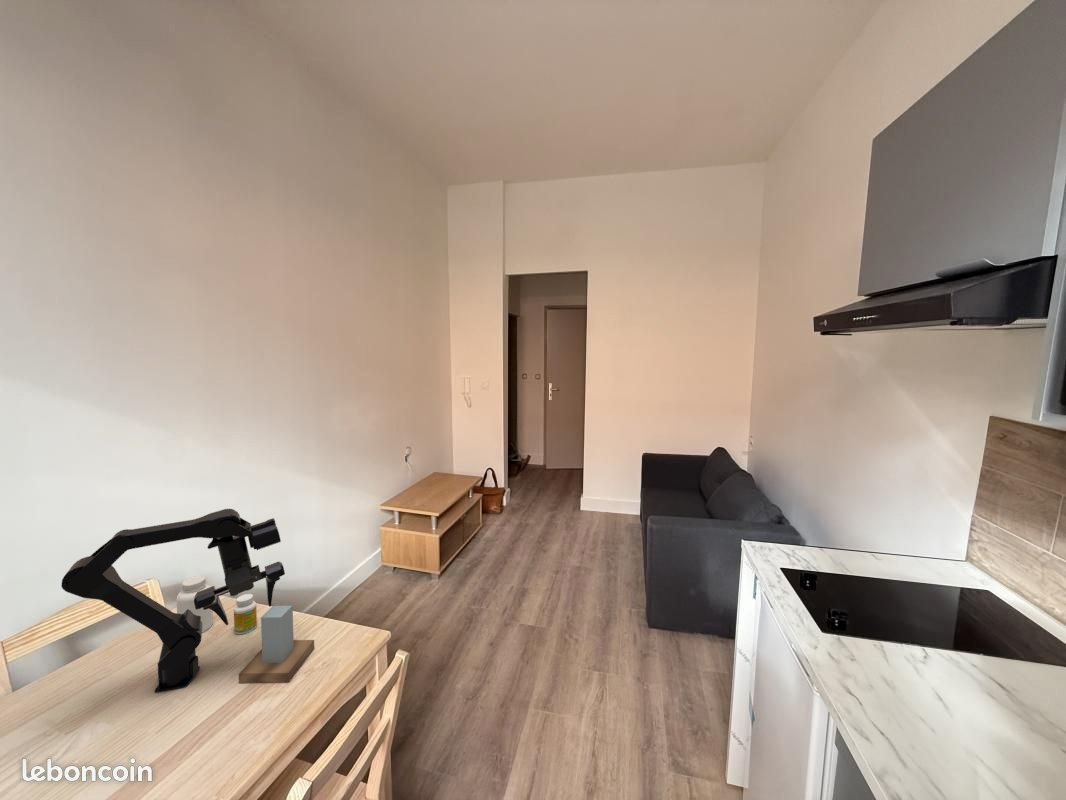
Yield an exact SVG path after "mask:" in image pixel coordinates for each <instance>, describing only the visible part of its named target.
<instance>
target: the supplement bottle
mask: <svg viewBox="0 0 1066 800" xmlns="http://www.w3.org/2000/svg"><path fill="white" fill-rule="evenodd" d="M235 601H236V602H235V604H236V605H235V606H234V608H233V626H234V628H233V629H234V631H233V632H234V634H236V635H245V634H247V633H250V632H252V631H254V630H255V629H256V628H257V625H258V619H257V618H258V617H257V614H258V613H257V612H258V611H257V603H256V601H255V600H254V595H253V594H252V593H245V594H241V595H240V596H238V597H237V598H236V600H235Z"/></svg>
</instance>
